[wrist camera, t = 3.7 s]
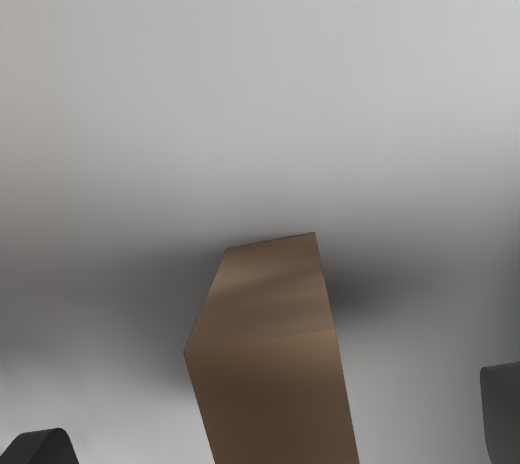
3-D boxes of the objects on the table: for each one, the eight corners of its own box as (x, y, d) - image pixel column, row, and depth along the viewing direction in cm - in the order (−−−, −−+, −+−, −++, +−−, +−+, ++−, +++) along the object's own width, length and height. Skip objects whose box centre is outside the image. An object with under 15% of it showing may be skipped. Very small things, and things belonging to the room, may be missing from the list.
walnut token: (314, 232, 12) (335, 328, 7) (342, 386, 14) (378, 565, 8) (226, 248, 13) (183, 352, 7) (262, 397, 14) (247, 578, 9)
